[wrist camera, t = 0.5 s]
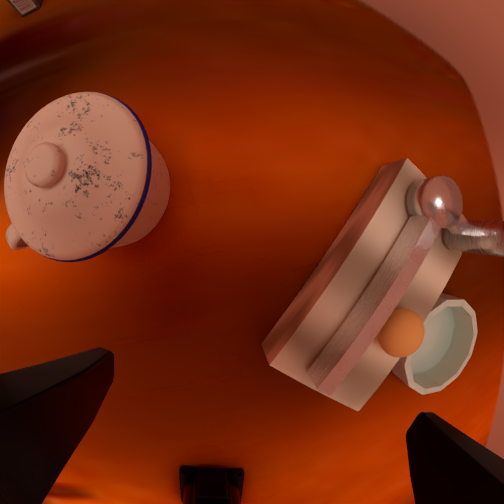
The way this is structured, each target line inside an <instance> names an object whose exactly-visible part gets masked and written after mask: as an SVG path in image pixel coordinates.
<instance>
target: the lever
mask: <svg viewBox="0 0 504 504" xmlns="http://www.w3.org/2000/svg"><path fill="white" fill-rule="evenodd" d="M462 207H463V203H462V196H461V192H460V190H459V188H458V186H457V184H456V183H455V182H454V181H453V180H452V179H451V178H449V177H447V176H438V177H432V178H427V179H421V180H418V181H416V182H414V183H413V184H412V185H411V187H410V189H409V191H408V195H407V208H408V212H409V214H410V218H409V220H408V222H407V223H406V225H405V227H404V229H403V230H402V232H401V234H400V236H399V237H398V239H397V241H396V242H395V244H394V246H393V247H392V249H391V251H390V252H389V254H388V256H387V257H386V259H385V261H384V262H383V264H382V265H381V267H380V269H379V270H378V272H377V273H376V275H375V277H374V278H373V280H372V281H371V283H370V284H369V286H368V287H367V289H366V290H365V292H364V293H363V295H362V296H361V298H360V299H359V301H358V302H357V304H356V305H355V307H354V308H353V310H352V311H351V312H350V314H349V315H348V317H347V318H346V320H345V321H344V322H343V324H342V325H341V327H340V328H339V329H338V331H337V332H336V333H335V335H334V336H333V338H332V339H331V340H330V342H329V343H328V344H327V346H326V347H325V348H324V350H323V351H322V352H321V353H320V355H319V356H318V357H317V359H316V360H315V361H314V363H313V364H312V365H311V366H310V368H309V369H308V370H307V371H306V372H307V374H308V376H309V377H310V379H311V380H312V382H313V383H314V385H315V387H316V388H317V389H318V390H320V391H322V392H324V393H326V394H328V395H330V396H331V394H332V393H333V392H334V391H335V390H336V388H337V387H338V386H339V385H340V383H341V382H342V381H343V380H344V378H345V377H346V376H347V375H348V373H349V372H350V371H351V370H352V368H353V367H354V366H355V364H356V363H357V362H358V360H359V359H360V358H361V356H362V355H363V354H364V352H365V351H366V350H367V348H368V347H369V345H370V344H371V343H372V341H373V340H374V339H375V337H376V336H377V334H378V333H379V331H380V330H381V328H382V327H383V326H384V324H385V323H386V321H387V320H388V318H389V317H390V315H391V314H392V312H393V311H394V309H395V307H396V306H397V304H398V303H399V301H400V300H401V298H402V296H403V295H404V293H405V292H406V290H407V288H408V287H409V285H410V283H411V282H412V280H413V278H414V277H415V275H416V273H417V271H418V270H419V268H420V266H421V264H422V263H423V261H424V259H425V257H426V256H427V254H428V252H429V250H430V248H431V246H432V244H433V243H434V241H435V239H436V237H437V235H438V233H439V231H440V229H441V228H445V229H444V242H445V244H446V246H447V247H448V248H449V249H450V250H455V251H462V252H470V253H477V254H484V255H491V256H498V257H504V221H473V220H466V218H465V217H464V216H463V215H462Z"/></svg>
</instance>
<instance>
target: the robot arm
mask: <svg viewBox="0 0 504 504" xmlns="http://www.w3.org/2000/svg"><path fill="white" fill-rule="evenodd" d="M113 379H114V355H113V353H112V352H111V351H109V350H106V349H104V348H101V347H99V348H95V349H92V350H88V351H85V352H81V353H78V354H74V355H71V356H67V357H63V358H60V359H56V360H52V361H49V362H45V363H41V364H37V365H34V366H30V367H26V368H22V369H18V370H14V371H10V372H6V373H2V374H0V504H42V502H43V501H44V499H45V497H46V496H47V494H48V492H49V491H50V489H51V487H52V486H53V484H54V483H55V481H56V479H57V478H58V476H59V475H60V473H61V471H62V470H63V468H64V466H65V465H66V463H67V462H68V460H69V459H70V457H71V455H72V454H73V452H74V451H75V449H76V448H77V446H78V444H79V443H80V441H81V440H82V438H83V437H84V435H85V434H86V432H87V431H88V429H89V427H90V426H91V424H92V422H93V421H94V419H95V417H96V415H97V413H98V411H99V408H100V406H101V404H102V402H103V400H104V398H105V396H106V394H107V392H108V390H109V388H110V386H111V384H112V382H113ZM406 443H407V451H408V459H409V469H410V477H411V483H412V488H413V493H414V498H415V504H504V459H502V458H501V457H499V456H498V455H496V454H494V453H493V452H492V451H490V450H488V449H487V448H485V447H484V446H482V445H481V444H479V443H478V442H476V441H475V440H473V439H472V438H470V437H469V436H467V435H466V434H464V433H463V432H461V431H460V430H458V429H457V428H455V427H454V426H452V425H451V424H449V423H448V422H446V421H445V420H443V419H442V418H440V417H439V416H437V415H436V414H434V413H433V412H421V413H419V414H418V415H417V417H416V418H415V420H414V422H413V423H412V425H411V426H410V428H409V429H408V431H407V433H406ZM183 470H185V471H183ZM179 475H180V489H181V501H182V502H183V504H241V496H242V489H243V481H244V470H242V469H222V468H201V467H188V466H182V467H180V469H179Z"/></svg>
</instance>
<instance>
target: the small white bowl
mask: <svg viewBox="0 0 504 504" xmlns="http://www.w3.org/2000/svg"><path fill="white" fill-rule="evenodd" d="M423 324H424V329H425V334H424V339H423V342H422V344H421V346H420V347H419V348H418V349H417V350H416V351H415V352H414V353H413V354H411V355H409V356H406V357H401V358H400V359H399V360H398V362H397V363H396V364H395V366H394V367H393V368H392V372H393V373H394V374H395V375H396V376H397V377H398V378H400V379H401V380H402V381H403V382H404V383H406V384H407V385H408V386H409V387H411V388H412V389H414V390H416V391H417V392H419V393H421V394H423V395H424V394H428V393H433V392H437V391H440V390H442V389H443V388H445V387H446V386H447V385H448V384H450V383H451V382H452V381H453V380H455V379H456V378H457V377H458V376H459V374H460V373H461V371H462V370H463V368H464V367H465V365H466V363H467V362H468V360H469V359H470V357H471V355H472V351H473V348H474V344H475V340H476V336H477V324H476V315H475V311H474V310H473V309H472V308H471V307H470V306H469V304H468V303H467V302H466V301H465V300H464V299H461V298H457V297H454V296H451V295H448V294H445V293H441V294H440V296H439V298H438V300H437V301H436V303H435V305H434V306H433V308H432V310H431V311H430V313H429V315H428V316H427V318H426V320H425V321H424V323H423Z"/></svg>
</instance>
